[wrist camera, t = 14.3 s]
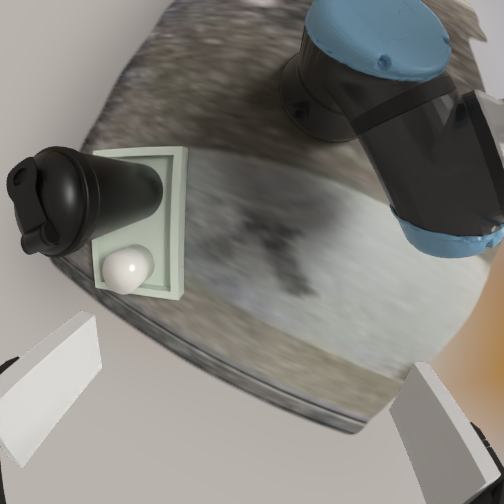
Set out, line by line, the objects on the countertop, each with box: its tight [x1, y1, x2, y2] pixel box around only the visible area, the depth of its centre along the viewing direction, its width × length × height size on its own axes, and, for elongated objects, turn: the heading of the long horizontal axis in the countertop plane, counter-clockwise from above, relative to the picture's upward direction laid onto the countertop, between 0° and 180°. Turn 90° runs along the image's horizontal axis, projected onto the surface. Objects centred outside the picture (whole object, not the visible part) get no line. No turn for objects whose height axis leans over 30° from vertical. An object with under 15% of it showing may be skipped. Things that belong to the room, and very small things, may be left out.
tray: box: [92, 146, 189, 300], centre depth 40 cm, size 22×15×3 cm
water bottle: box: [7, 146, 163, 258], centre depth 28 cm, size 10×10×23 cm
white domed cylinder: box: [102, 244, 155, 295], centre depth 39 cm, size 6×6×6 cm
